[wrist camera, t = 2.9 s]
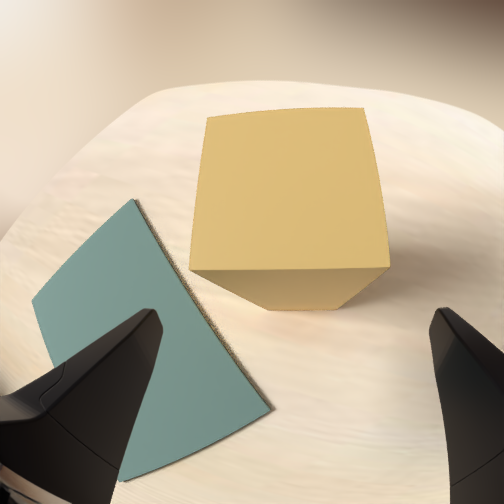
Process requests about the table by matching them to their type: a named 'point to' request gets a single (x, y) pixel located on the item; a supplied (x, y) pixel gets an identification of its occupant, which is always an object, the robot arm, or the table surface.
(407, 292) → the table surface
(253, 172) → the ochre block
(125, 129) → the table surface
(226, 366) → the green mat
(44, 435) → the robot arm
